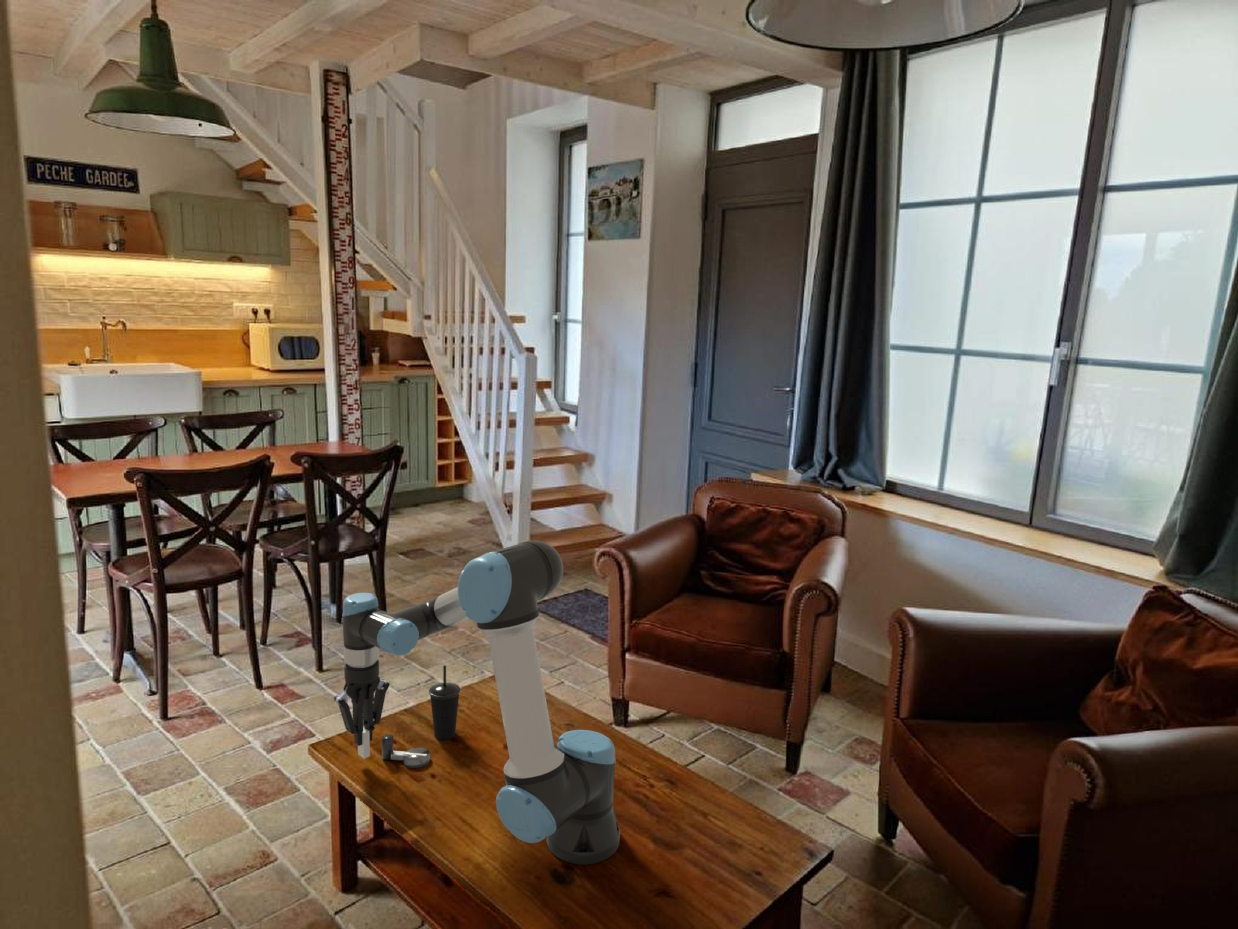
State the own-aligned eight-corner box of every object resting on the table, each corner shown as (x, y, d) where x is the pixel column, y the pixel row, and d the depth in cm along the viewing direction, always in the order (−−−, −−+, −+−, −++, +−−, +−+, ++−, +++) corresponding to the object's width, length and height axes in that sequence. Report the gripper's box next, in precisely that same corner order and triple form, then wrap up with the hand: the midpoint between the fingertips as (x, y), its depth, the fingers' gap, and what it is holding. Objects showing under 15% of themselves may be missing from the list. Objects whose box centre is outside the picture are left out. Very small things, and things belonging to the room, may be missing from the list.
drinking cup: (426, 735, 201) (425, 661, 197) (456, 729, 204) (456, 657, 200) (432, 750, 194) (432, 675, 190) (463, 744, 197) (463, 670, 193)
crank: (433, 754, 190) (433, 733, 189) (425, 769, 184) (425, 747, 183) (387, 751, 190) (386, 730, 189) (377, 765, 185) (377, 743, 183)
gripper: (378, 647, 186) (380, 738, 191) (326, 664, 177) (329, 759, 181) (396, 657, 181) (397, 751, 186) (343, 675, 172) (346, 773, 177)
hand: (363, 755), depth 184 cm, fingers closed
